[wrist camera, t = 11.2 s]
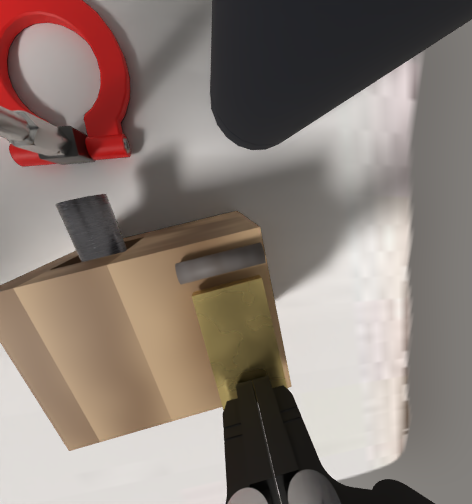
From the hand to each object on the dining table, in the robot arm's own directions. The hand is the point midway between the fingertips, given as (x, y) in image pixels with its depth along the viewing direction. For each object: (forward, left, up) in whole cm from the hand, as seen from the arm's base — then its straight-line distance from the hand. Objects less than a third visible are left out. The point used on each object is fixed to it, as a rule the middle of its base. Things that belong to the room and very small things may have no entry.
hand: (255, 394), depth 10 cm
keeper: (0, +2, -1) cm, 2 cm away
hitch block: (-4, +2, -10) cm, 11 cm away
